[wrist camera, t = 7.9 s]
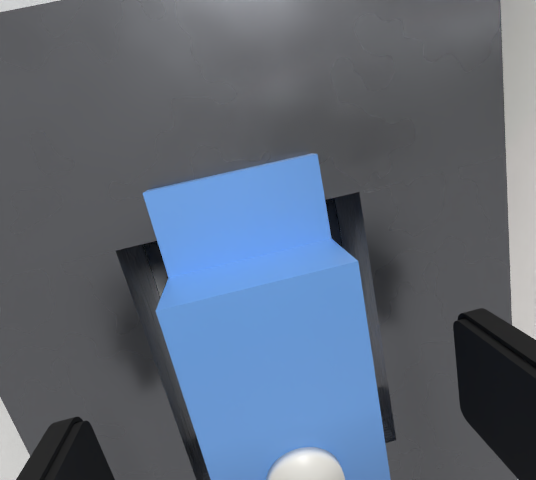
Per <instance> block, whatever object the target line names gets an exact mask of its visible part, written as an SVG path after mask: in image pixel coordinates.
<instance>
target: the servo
mask: <svg viewBox="0 0 536 480" xmlns="http://www.w3.org/2000/svg"><path fill="white" fill-rule="evenodd" d="M143 196H144V200H145V203H146V206H147V209H148V213H149V216H150V219H151V222H152V226H153V229H154V232H155V235H156V239H157V242H158V245H159V248H160V252H161V255H162V258H163V261H164V265H165V268H166V271H167V274H168V280H167V283H166V286H165V288H164V291H163V293H162V296H161V298H160V301H159V303H158V306H157V309H156V314H157V317H158V320H159V323H160V326H161V329H162V332H163V335H164V338H165V342H166V345H167V348H168V351H169V354H170V357H171V360H172V363H173V366H174V369H175V372H176V375H177V378H178V381H179V384H180V387H181V390H182V394H183V397H184V400H185V403H186V406H187V409H188V412H189V415H190V418H191V421H192V424H193V427H194V430H195V433H196V436H197V439H198V443H199V446H200V449H201V452H202V455H203V458H204V461H205V464H206V467H207V470H208V473H209V476H210V479H211V480H391V478H390V472H389V465H388V458H387V451H386V445H385V438H384V431H383V424H382V418H381V411H380V404H379V397H378V391H377V384H376V377H375V370H374V364H373V357H372V350H371V344H370V337H369V330H368V323H367V317H366V310H365V303H364V296H363V290H362V283H361V276H360V269H359V263H358V260H356V259H355V258H354V257H353V256H352V255H350V254H349V253H348V252H347V251H346V250H345V249H343V248H342V247H341V246H340V245H339V244H337V243H336V242H335V241H334V240H333V239H332V238H331V232H330V226H329V220H328V214H327V208H326V202H325V196H324V190H323V184H322V178H321V172H320V166H319V160H318V154H313V153H311V154H307V155H302V156H298V157H293V158H289V159H285V160H280V161H276V162H271V163H267V164H262V165H258V166H253V167H249V168H244V169H240V170H235V171H231V172H226V173H222V174H217V175H213V176H208V177H204V178H200V179H195V180H191V181H186V182H182V183H177V184H173V185H168V186H164V187H159V188H155V189H150V190H147V191H145V192H143Z"/></svg>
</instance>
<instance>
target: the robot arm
mask: <svg viewBox="0 0 536 480" xmlns="http://www.w3.org/2000/svg"><path fill="white" fill-rule="evenodd" d="M453 332H454V344H455V355H456V367H457V378H458V390H459V401H460V409H461V412H462V414H463V416H464V418H465V419H466V421H467V422H468V423H469V424H470V426H471V427H472V428H473V429H474V430H475V431H476V432H477V433H478V435H479V436H480V437H481V438H482V439H483V440H484V441H485V442H486V444H487V445H488V446H489V447H490V448H491V449H492V450H493V451H494V453H495V454H496V455H497V456H498V457H499V458H500V459H501V460H502V462H503V463H504V464H505V465H506V466H507V467H508V468H509V469H510V471H511V472H512V473H513V474H514V475H515V476H516V477H517V479H518V480H536V340H535V339H533V338H532V337H530V336H528V335H527V334H525V333H523V332H522V331H520V330H519V329H517V328H515V327H514V326H512V325H511V324H509V323H507V322H506V321H504V320H503V319H501V318H499V317H498V316H496V315H494V314H493V313H491V312H490V311H488V310H486V309H484V308H479V309H475V310H472V311H468V312H464V313H461V314H459V316H458V320H457V321H455V322H454V323H453ZM16 480H115V479H114V476H113V474H112V472H111V469H110V467H109V465H108V463H107V460H106V458H105V456H104V453H103V451H102V449H101V446H100V444H99V442H98V440H97V437H96V435H95V433H94V430H93V428H92V426H91V424H90V422H89V421H83V420H82V419H81V418H80V417H73V418H69V419H66V420H62V421H58V422H54V423H52V424H51V425H50V426H49V427H48V429H47V430H46V432H45V434H44V435H43V437H42V439H41V440H40V442H39V443H38V445H37V447H36V448H35V450H34V452H33V453H32V455H31V456H30V458H29V460H28V461H27V463H26V465H25V466H24V468H23V469H22V471H21V473H20V474H19V476H18V478H17V479H16Z"/></svg>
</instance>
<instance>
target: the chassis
mask: <svg viewBox="0 0 536 480" xmlns="http://www.w3.org/2000/svg"><path fill="white" fill-rule="evenodd" d="M311 153H313V154H318V160H319V166H320V172H321V178H322V184H323V190H324V196H325V200H327V199H331V198H335V204H336V210H337V216H338V222H339V228H340V234H341V240H342V246H343V249H345V250H346V251H347V252H348V253H349V254H350V255H352V256H353V257H354V258H355V259H356V260H358V263H359V269H360V276H361V283H362V290H363V296H364V303H365V310H366V317H367V323H368V330H369V337H370V344H371V350H372V357H373V364H374V370H375V377H376V384H377V391H378V397H379V404H380V411H381V418H382V424H383V431H384V438H385V445H386V451H387V458H388V465H389V472H390V478H391V480H517V477H516V476H515V475H514V474H513V473H512V472H511V471H510V469H509V468H508V467H507V466H506V465H505V464H504V463H503V462H502V460H501V459H500V458H499V457H498V456H497V455H496V454H495V453H494V451H493V450H492V449H491V448H490V447H489V446H488V445H487V444H486V442H485V441H484V440H483V439H482V438H481V437H480V436H479V435H478V433H477V432H476V431H475V430H474V429H473V428H472V427H471V426H470V424H469V423H468V422H467V421H466V419H465V418H464V416H463V414H462V412H461V409H460V401H459V390H458V378H457V367H456V355H455V344H454V332H453V323H454V322H455V321H457V320H458V316H459V314H461V313H464V312H468V311H472V310H475V309H479V308H484V309H486V310H488V311H490V312H491V313H493V314H494V315H496V316H498V317H499V318H501V319H503V320H504V321H506V322H507V323H509V324H511V325H512V316H511V288H510V260H509V232H508V204H507V176H506V148H505V121H504V93H503V65H502V37H501V9H500V0H61V1H55V2H50V3H45V4H40V5H35V6H30V7H25V8H20V9H15V10H10V11H5V12H0V397H1V399H2V401H3V403H4V405H5V407H6V409H7V411H8V413H9V415H10V417H11V419H12V421H13V423H14V425H15V427H16V429H17V431H18V433H19V435H20V437H21V439H22V441H23V442H24V444H25V446H26V448H27V450H28V452H29V454H30V456H31V455H32V453H33V452H34V450H35V448H36V447H37V445H38V443H39V442H40V440H41V439H42V437H43V435H44V434H45V432H46V430H47V429H48V427H49V426H50V425H51V424H52V423H54V422H58V421H62V420H66V419H69V418H73V417H80V418H81V419H82V420H83V421H89V422H90V424H91V426H92V428H93V430H94V433H95V435H96V437H97V440H98V442H99V444H100V446H101V449H102V451H103V453H104V456H105V458H106V460H107V463H108V465H109V467H110V469H111V472H112V474H113V476H114V479H115V480H211V479H210V476H209V473H208V470H207V467H206V464H205V461H204V458H203V455H202V452H201V449H200V446H199V443H198V439H197V436H196V433H195V430H194V427H193V424H192V421H191V418H190V415H189V412H188V409H187V406H186V403H185V400H184V397H183V394H182V390H181V387H180V384H179V381H178V378H177V375H176V372H175V369H174V366H173V363H172V360H171V357H170V354H169V351H168V348H167V345H166V342H165V338H164V335H163V332H162V329H161V326H160V323H159V320H158V317H157V314H156V309H157V306H158V303H159V301H160V296H159V293H158V290H157V287H156V284H155V281H154V278H153V275H152V272H151V269H150V265H149V262H148V259H147V256H146V253H145V250H144V247H143V244H145V243H149V242H154V241H157V239H156V235H155V232H154V229H153V226H152V222H151V219H150V216H149V213H148V209H147V206H146V203H145V200H144V196H143V192H145V191H147V190H150V189H155V188H159V187H164V186H168V185H173V184H177V183H182V182H186V181H191V180H195V179H200V178H204V177H208V176H213V175H217V174H222V173H226V172H231V171H235V170H240V169H244V168H249V167H253V166H258V165H262V164H267V163H271V162H276V161H280V160H285V159H289V158H293V157H298V156H302V155H307V154H311Z"/></svg>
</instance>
